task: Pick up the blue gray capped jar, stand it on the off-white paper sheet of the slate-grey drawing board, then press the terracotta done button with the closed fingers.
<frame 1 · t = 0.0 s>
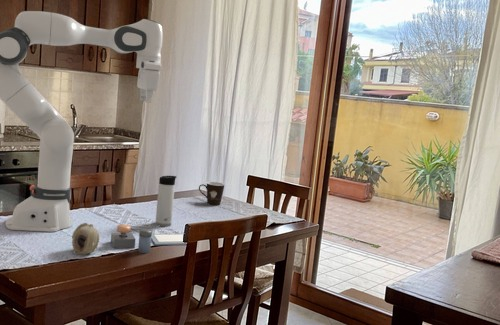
hand: (145, 101, 197), 48 cm above the table, tool pointing down, fingers open, 8 cm apart
button housing: (122, 244, 179), on the table
beige rounded piece: (85, 252, 168), on the table
blue gray capped jar: (144, 250, 175), on the table
travel mug: (163, 224, 209), on the table
done button: (123, 232, 178), point 4 cm above the table, slide at 0.0 cm
drawing board: (171, 240, 190), on the table
coffee mug: (211, 203, 254), on the table
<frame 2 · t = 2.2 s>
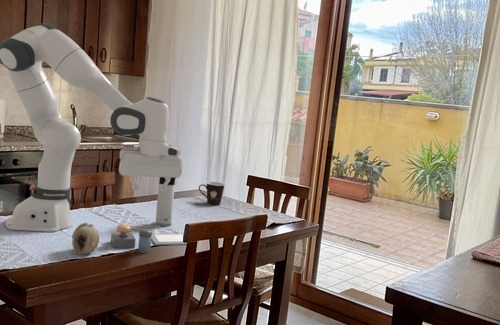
hand: (149, 189, 172), 21 cm above the table, tool pointing down, fingers open, 8 cm apart
nothing on the table moved.
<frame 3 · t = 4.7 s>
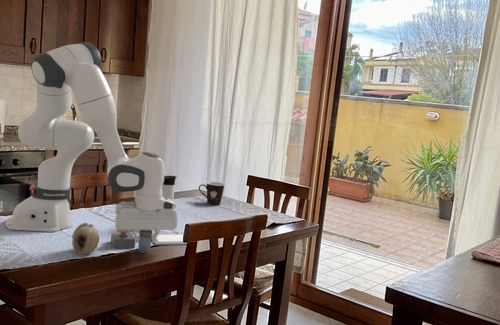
hand: (144, 241, 175), 3 cm above the table, tool pointing down, fingers closed on blue gray capped jar, 4 cm apart
blue gray capped jar: (144, 250, 175), on the table, touching gripper
everything else where it was.
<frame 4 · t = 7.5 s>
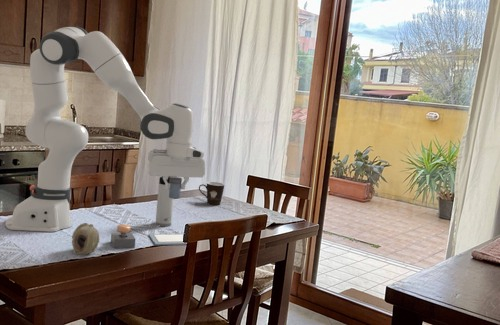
hand: (174, 188, 186), 19 cm above the table, tool pointing down, fingers closed on blue gray capped jar, 4 cm apart
blue gray capped jar: (174, 197, 186), point 16 cm above the table, touching gripper
everything else where it was.
when the fingers open (5 cm above the table, at t = 10.7 s): blue gray capped jar stays where it is, resting on drawing board.
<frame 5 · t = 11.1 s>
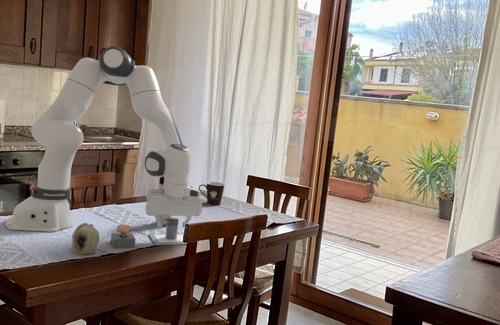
hand: (172, 227, 189), 5 cm above the table, tool pointing down, fingers open, 8 cm apart
blue gray capped jar: (171, 237, 190), point 1 cm above the table, touching drawing board
everything else where it was.
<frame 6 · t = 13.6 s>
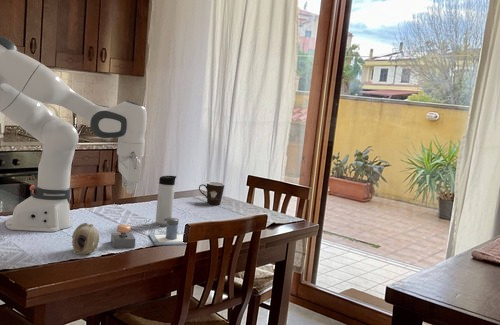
hand: (127, 190, 176), 19 cm above the table, tool pointing down, fingers open, 7 cm apart
nothing on the table moved.
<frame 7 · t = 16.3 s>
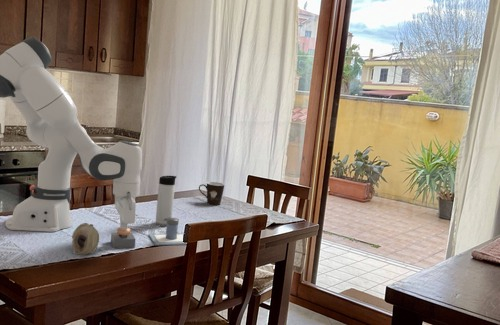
hand: (123, 228, 178), 6 cm above the table, tool pointing down, fingers closed, pressing on done button
done button: (123, 235, 178), point 3 cm above the table, slide at 0.9 cm, touching gripper
everything else where it was.
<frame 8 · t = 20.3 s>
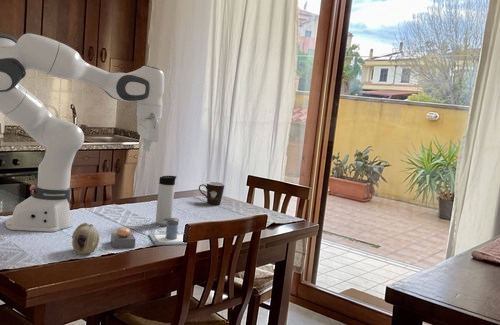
hand: (146, 150, 188), 31 cm above the table, tool pointing down, fingers closed
done button: (123, 236, 179), point 3 cm above the table, slide at 1.1 cm
everything else where it was.
at the end: blue gray capped jar inside the target area on the drawing board (0.0 cm from its centre), point 0.8 cm above the drawing board's base; blue gray capped jar tilted 0°; done button slide at 1.1 cm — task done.
